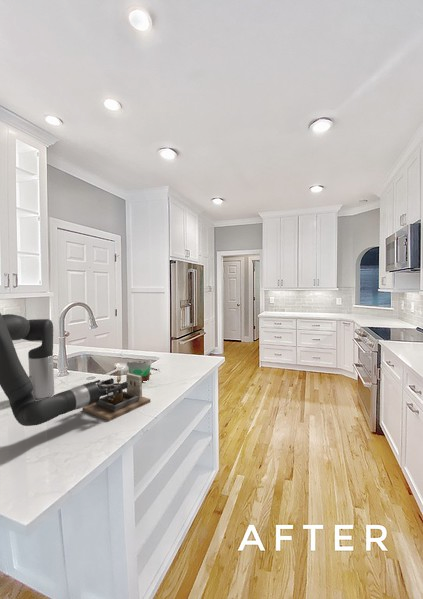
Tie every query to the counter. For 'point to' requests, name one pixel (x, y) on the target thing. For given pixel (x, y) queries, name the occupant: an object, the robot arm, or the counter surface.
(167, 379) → the counter surface
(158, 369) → the phone case
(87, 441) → the counter surface
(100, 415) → the charging dock
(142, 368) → the food container
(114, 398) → the utensil holder
